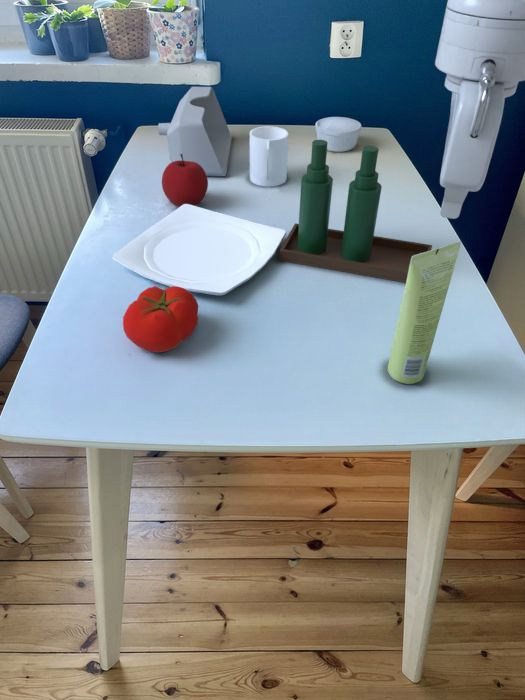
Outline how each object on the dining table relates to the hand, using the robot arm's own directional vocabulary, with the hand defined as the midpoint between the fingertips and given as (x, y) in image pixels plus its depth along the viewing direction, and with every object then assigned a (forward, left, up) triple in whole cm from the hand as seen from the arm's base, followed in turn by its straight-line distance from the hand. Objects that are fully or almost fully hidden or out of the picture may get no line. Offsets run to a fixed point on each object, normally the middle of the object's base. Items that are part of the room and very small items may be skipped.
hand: (451, 194), depth 57 cm
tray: (+12, -27, -26) cm, 39 cm away
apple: (+49, -37, -26) cm, 67 cm away
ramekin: (+26, -78, -26) cm, 86 cm away
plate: (+38, -19, -26) cm, 50 cm away
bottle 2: (+12, -27, -25) cm, 39 cm away
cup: (+36, -52, -26) cm, 68 cm away
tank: (+57, -60, -26) cm, 87 cm away
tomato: (+35, +3, -26) cm, 44 cm away
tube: (0, 0, -26) cm, 26 cm away
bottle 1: (+20, -27, -25) cm, 42 cm away
